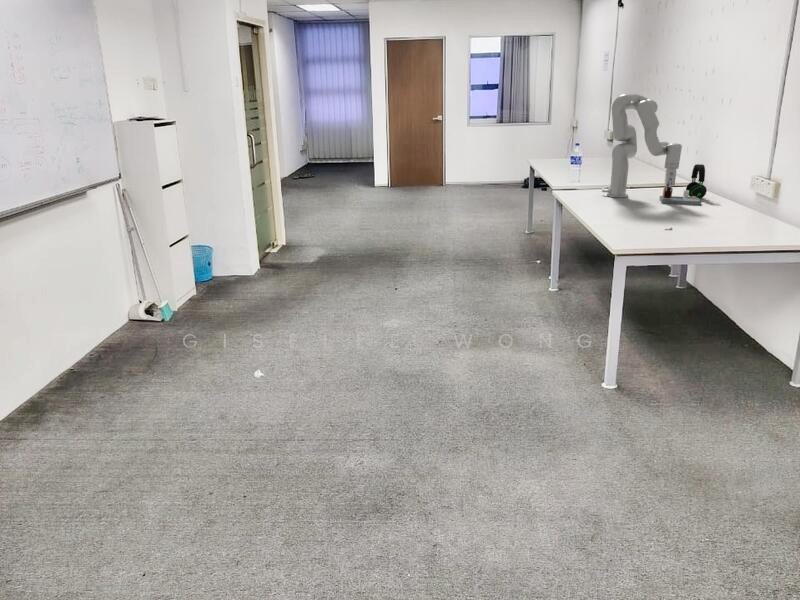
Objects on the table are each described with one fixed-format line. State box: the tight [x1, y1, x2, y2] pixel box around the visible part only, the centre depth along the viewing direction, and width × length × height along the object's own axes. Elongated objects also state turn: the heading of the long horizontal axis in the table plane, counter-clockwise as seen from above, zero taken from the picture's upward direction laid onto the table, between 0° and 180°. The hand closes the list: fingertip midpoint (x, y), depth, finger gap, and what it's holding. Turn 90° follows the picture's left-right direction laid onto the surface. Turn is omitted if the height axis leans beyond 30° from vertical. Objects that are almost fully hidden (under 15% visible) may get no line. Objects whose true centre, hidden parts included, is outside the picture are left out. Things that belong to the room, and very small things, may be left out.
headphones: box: [685, 163, 708, 199], centre depth 381 cm, size 9×16×20 cm, turn 173°
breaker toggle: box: [682, 189, 690, 197], centre depth 372 cm, size 2×4×4 cm, turn 163°
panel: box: [659, 195, 702, 206], centre depth 371 cm, size 21×15×3 cm
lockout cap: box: [661, 186, 674, 198], centre depth 369 cm, size 4×4×6 cm
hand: (666, 196), depth 370 cm, fingers closed on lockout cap, 4 cm apart
